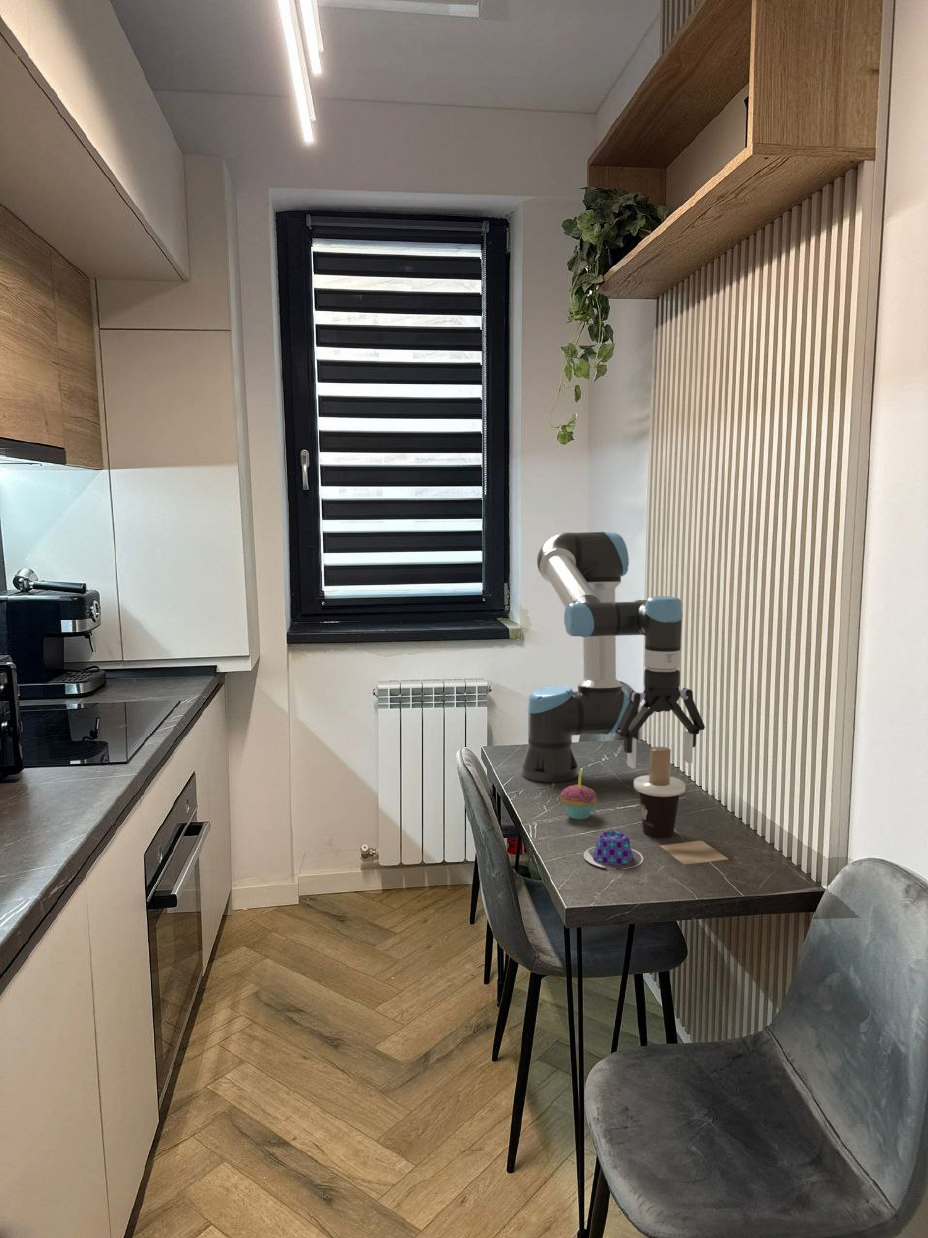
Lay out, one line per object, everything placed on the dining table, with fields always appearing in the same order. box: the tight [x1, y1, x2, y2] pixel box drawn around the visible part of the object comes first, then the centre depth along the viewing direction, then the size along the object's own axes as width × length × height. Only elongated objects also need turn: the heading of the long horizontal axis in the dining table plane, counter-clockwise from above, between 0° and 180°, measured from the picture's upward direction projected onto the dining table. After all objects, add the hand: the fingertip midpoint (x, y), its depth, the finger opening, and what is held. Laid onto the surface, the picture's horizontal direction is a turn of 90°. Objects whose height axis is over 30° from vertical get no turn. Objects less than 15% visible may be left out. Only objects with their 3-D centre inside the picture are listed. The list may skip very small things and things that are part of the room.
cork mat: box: [659, 840, 729, 866], centre depth 174 cm, size 10×10×1 cm
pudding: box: [583, 830, 644, 870], centre depth 172 cm, size 12×12×5 cm
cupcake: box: [559, 768, 598, 820], centre depth 195 cm, size 9×8×12 cm
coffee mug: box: [638, 791, 680, 839], centre depth 185 cm, size 12×9×10 cm
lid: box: [633, 746, 686, 796], centre depth 184 cm, size 11×11×9 cm
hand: (659, 764), depth 184 cm, fingers open, 13 cm apart
